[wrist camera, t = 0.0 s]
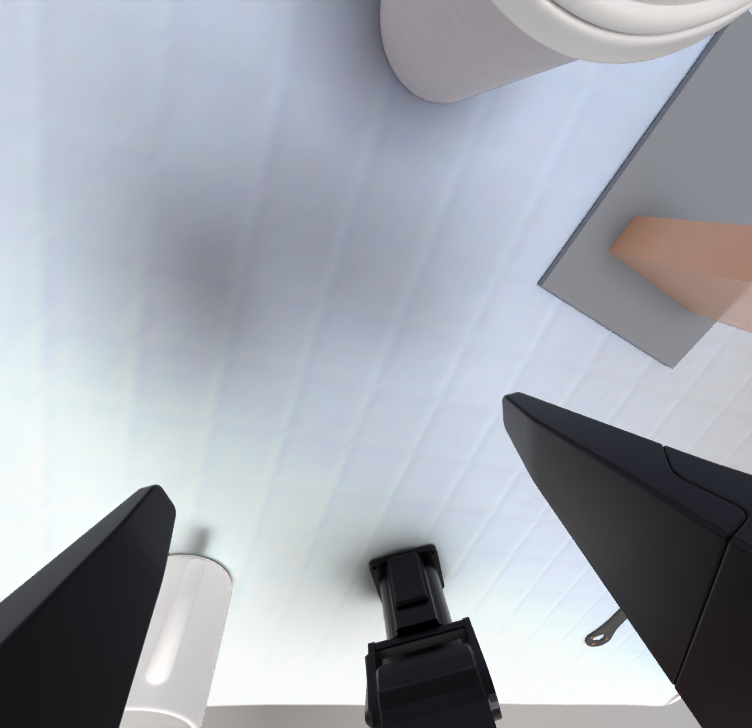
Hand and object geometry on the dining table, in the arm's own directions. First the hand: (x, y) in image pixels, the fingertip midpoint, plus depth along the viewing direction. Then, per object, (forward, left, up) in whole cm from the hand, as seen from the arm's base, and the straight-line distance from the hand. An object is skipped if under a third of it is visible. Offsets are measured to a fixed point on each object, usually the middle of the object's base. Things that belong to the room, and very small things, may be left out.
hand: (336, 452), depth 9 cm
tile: (-3, -22, -14) cm, 26 cm away
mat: (-1, -24, -15) cm, 28 cm away
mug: (-20, +18, -15) cm, 31 cm away
